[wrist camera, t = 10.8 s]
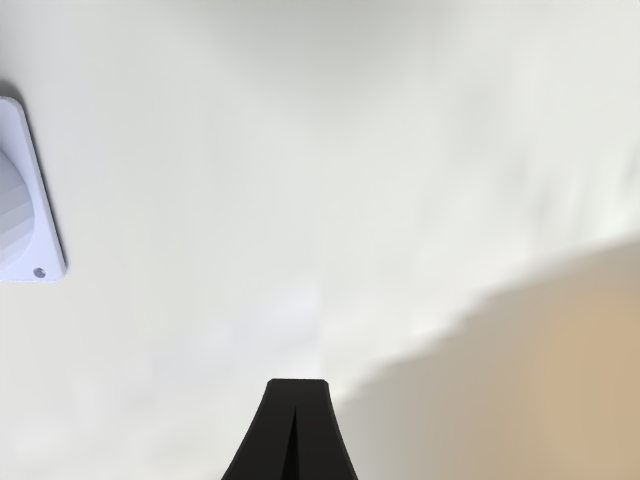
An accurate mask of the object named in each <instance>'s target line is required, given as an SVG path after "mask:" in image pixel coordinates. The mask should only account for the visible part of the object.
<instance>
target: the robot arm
mask: <svg viewBox="0 0 640 480" xmlns="http://www.w3.org/2000/svg"><path fill="white" fill-rule="evenodd" d="M39 268H41V269H42V270H44V272H45V273H42V272H41V271H40V270H39ZM65 275H66V267H65V263H64V260H63V256H62V252H61V248H60V245H59V241H58V237H57V234H56V230H55V226H54V222H53V219H52V215H51V211H50V207H49V204H48V200H47V196H46V193H45V189H44V185H43V181H42V178H41V174H40V170H39V167H38V163H37V159H36V155H35V152H34V148H33V144H32V141H31V137H30V133H29V129H28V126H27V122H26V118H25V114H24V111H23V109H22V106H21V105H20V104H19V103H18V101H16V100H15V99H13V98H11V97H7V96H0V281H23V282H58V281H60V280H61V279H62V278H64V277H65ZM221 480H358V478H357V476H356V473H355V471H354V468H353V465H352V463H351V461H350V458H349V455H348V453H347V450H346V447H345V445H344V442H343V439H342V436H341V433H340V430H339V427H338V424H337V421H336V417H335V414H334V410H333V406H332V402H331V398H330V392H329V385H328V383H327V382H326V381H325V380H322V379H271V380H270V381H269V382H268V383H267V387H266V390H265V393H264V395H263V398H262V400H261V403H260V405H259V408H258V410H257V412H256V414H255V417H254V419H253V421H252V423H251V425H250V427H249V429H248V431H247V433H246V435H245V437H244V439H243V441H242V443H241V445H240V447H239V449H238V450H237V452H236V454H235V456H234V458H233V460H232V462H231V464H230V465H229V467H228V469H227V470H226V472H225V474H224V476H223V477H222V479H221Z"/></svg>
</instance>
